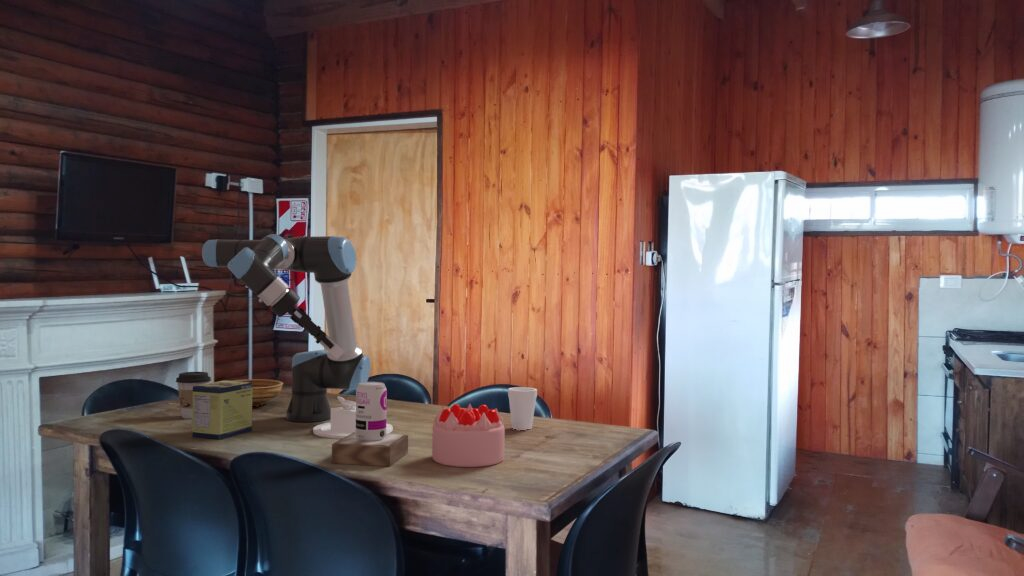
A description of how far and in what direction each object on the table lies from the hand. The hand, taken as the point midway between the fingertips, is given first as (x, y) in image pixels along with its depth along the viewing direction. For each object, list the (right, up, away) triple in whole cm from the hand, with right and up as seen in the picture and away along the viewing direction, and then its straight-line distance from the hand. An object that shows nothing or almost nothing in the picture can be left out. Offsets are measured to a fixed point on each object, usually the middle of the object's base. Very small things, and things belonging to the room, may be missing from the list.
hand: (337, 352), depth 213 cm
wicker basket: (-52, -27, +83) cm, 102 cm away
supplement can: (+9, -24, +1) cm, 25 cm away
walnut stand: (+9, -29, +1) cm, 30 cm away
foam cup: (+51, -29, +45) cm, 74 cm away
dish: (-3, -29, +38) cm, 48 cm away
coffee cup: (-62, -27, +57) cm, 88 cm away
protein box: (-42, -28, +30) cm, 59 cm away
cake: (+35, -30, +2) cm, 46 cm away
